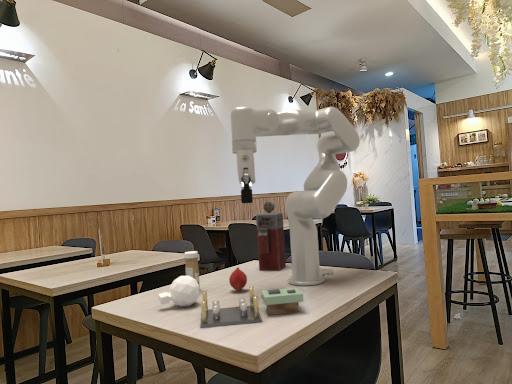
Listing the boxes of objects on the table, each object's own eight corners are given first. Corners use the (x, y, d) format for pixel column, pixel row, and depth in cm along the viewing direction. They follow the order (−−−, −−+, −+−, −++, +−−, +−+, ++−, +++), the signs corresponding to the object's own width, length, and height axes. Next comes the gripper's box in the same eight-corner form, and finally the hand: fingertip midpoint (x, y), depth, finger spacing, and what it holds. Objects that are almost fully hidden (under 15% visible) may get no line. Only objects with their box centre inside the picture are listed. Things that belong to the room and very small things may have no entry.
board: (297, 294, 106) (296, 285, 106) (303, 301, 99) (302, 291, 99) (261, 298, 105) (261, 288, 105) (265, 305, 98) (264, 295, 98)
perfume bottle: (194, 292, 120) (157, 304, 115) (192, 266, 117) (154, 277, 112) (205, 306, 113) (166, 320, 108) (203, 279, 110) (163, 292, 105)
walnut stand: (295, 307, 105) (295, 296, 105) (298, 311, 101) (298, 300, 101) (266, 310, 104) (266, 299, 104) (268, 314, 100) (268, 303, 100)
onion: (226, 292, 126) (224, 267, 126) (238, 288, 130) (237, 264, 130) (238, 294, 122) (237, 269, 122) (251, 290, 126) (249, 266, 126)
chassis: (256, 307, 107) (254, 286, 107) (261, 321, 95) (260, 297, 95) (201, 313, 105) (200, 291, 105) (200, 327, 93) (198, 303, 93)
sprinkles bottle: (202, 291, 129) (200, 251, 129) (189, 294, 126) (187, 253, 126) (196, 289, 132) (194, 250, 133) (184, 291, 130) (182, 252, 130)
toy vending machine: (257, 271, 156) (252, 203, 156) (266, 266, 166) (262, 201, 167) (278, 272, 153) (273, 201, 153) (286, 266, 163) (282, 200, 163)
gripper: (257, 143, 111) (260, 202, 110) (255, 150, 128) (257, 202, 127) (231, 144, 110) (234, 203, 110) (232, 151, 127) (234, 203, 127)
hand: (246, 202), depth 119 cm, fingers open, 9 cm apart
